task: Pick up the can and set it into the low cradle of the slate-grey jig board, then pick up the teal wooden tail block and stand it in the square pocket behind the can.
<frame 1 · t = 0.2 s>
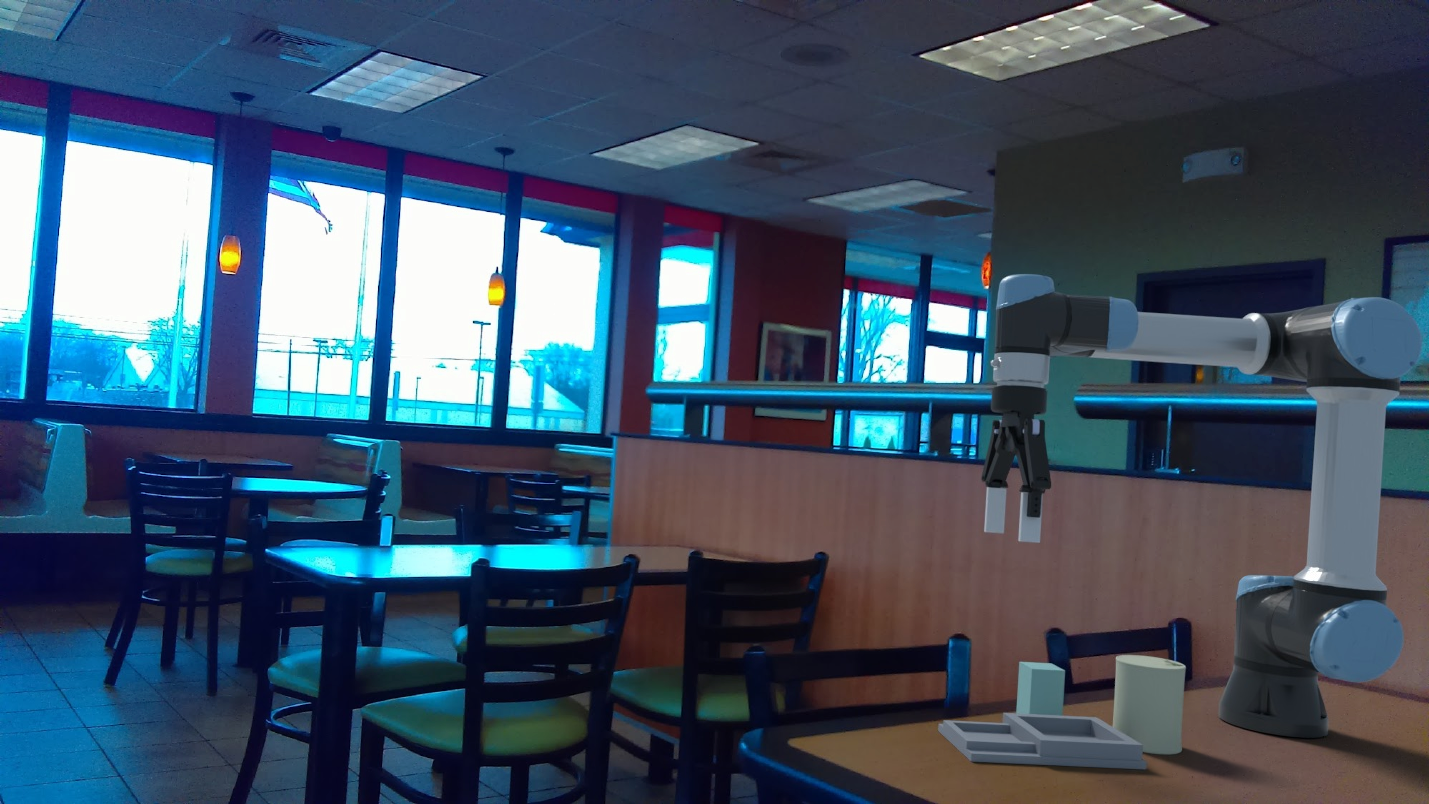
hand: (1010, 537, 151), 27 cm above the table, fingers open, 13 cm apart
can: (1145, 746, 150), on the table
tail block: (1038, 720, 160), on the table
jig: (1037, 749, 144), on the table
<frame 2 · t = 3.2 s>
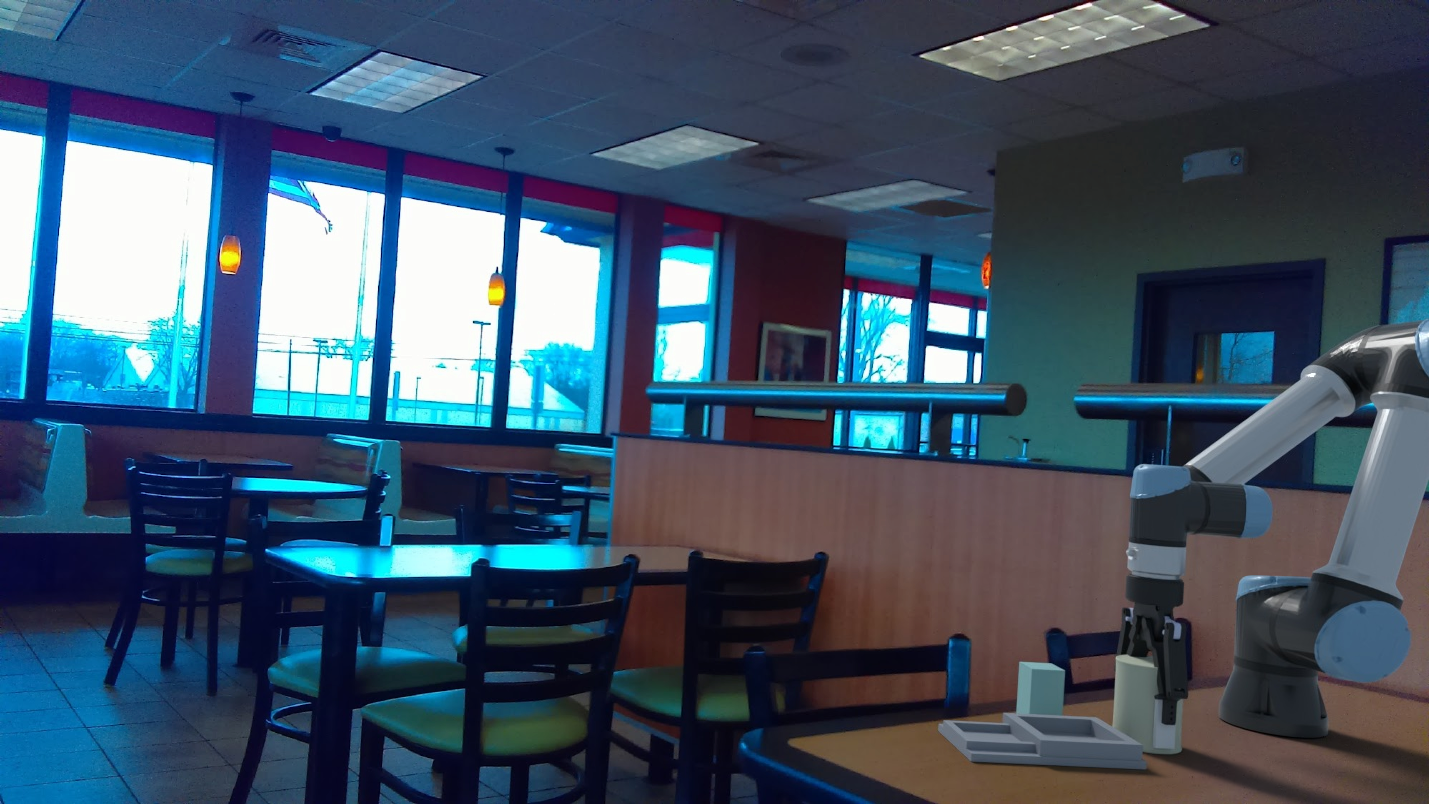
hand: (1146, 737, 150), 1 cm above the table, fingers closed on can, 9 cm apart
can: (1145, 746, 150), on the table, touching gripper
everything else where it was.
when the fingers open (4 cm above the table, at t = 8.6 s): can drops 2 cm, resting on jig.
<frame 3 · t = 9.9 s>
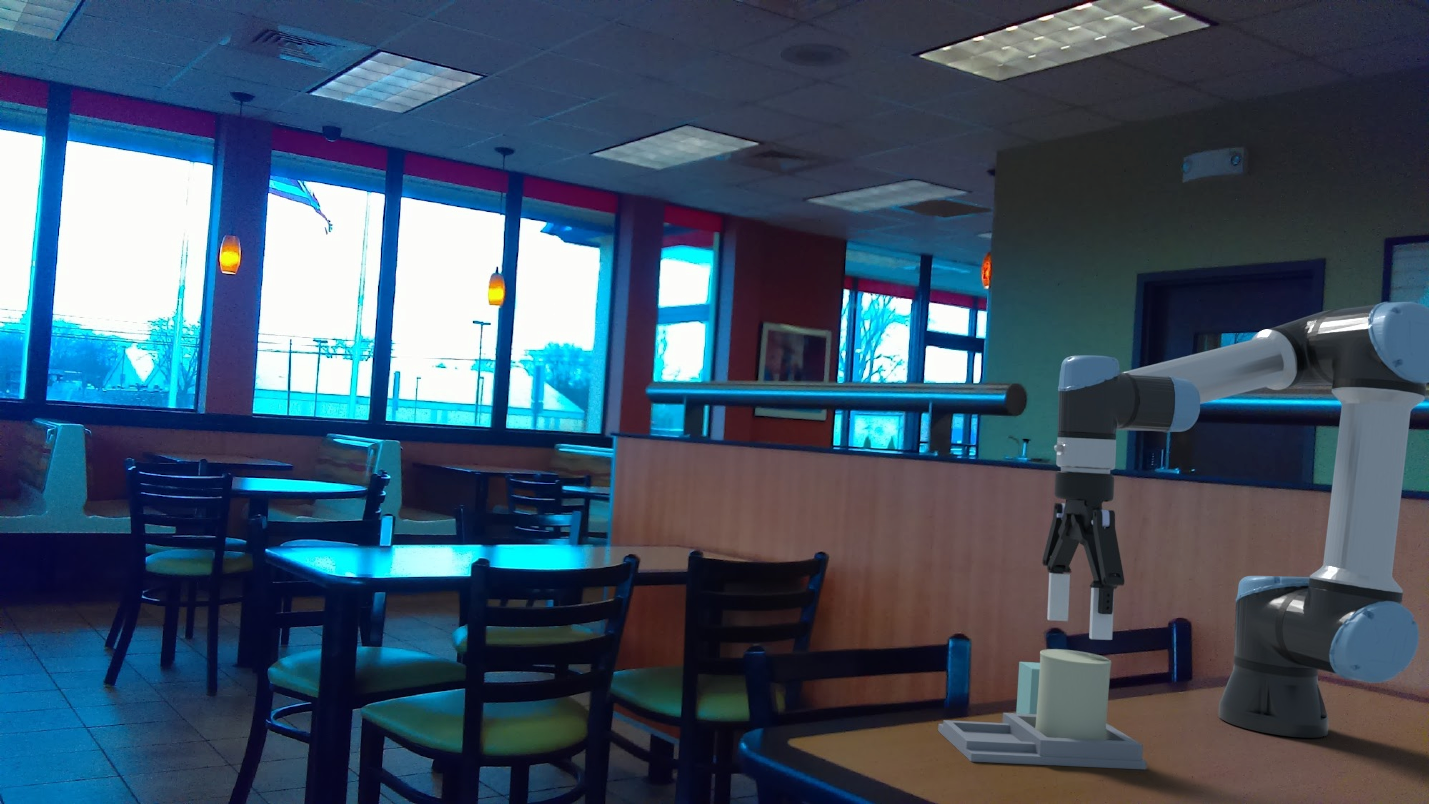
hand: (1078, 629, 145), 16 cm above the table, fingers open, 13 cm apart
can: (1069, 744, 144), point 1 cm above the table, touching jig
everything else where it was.
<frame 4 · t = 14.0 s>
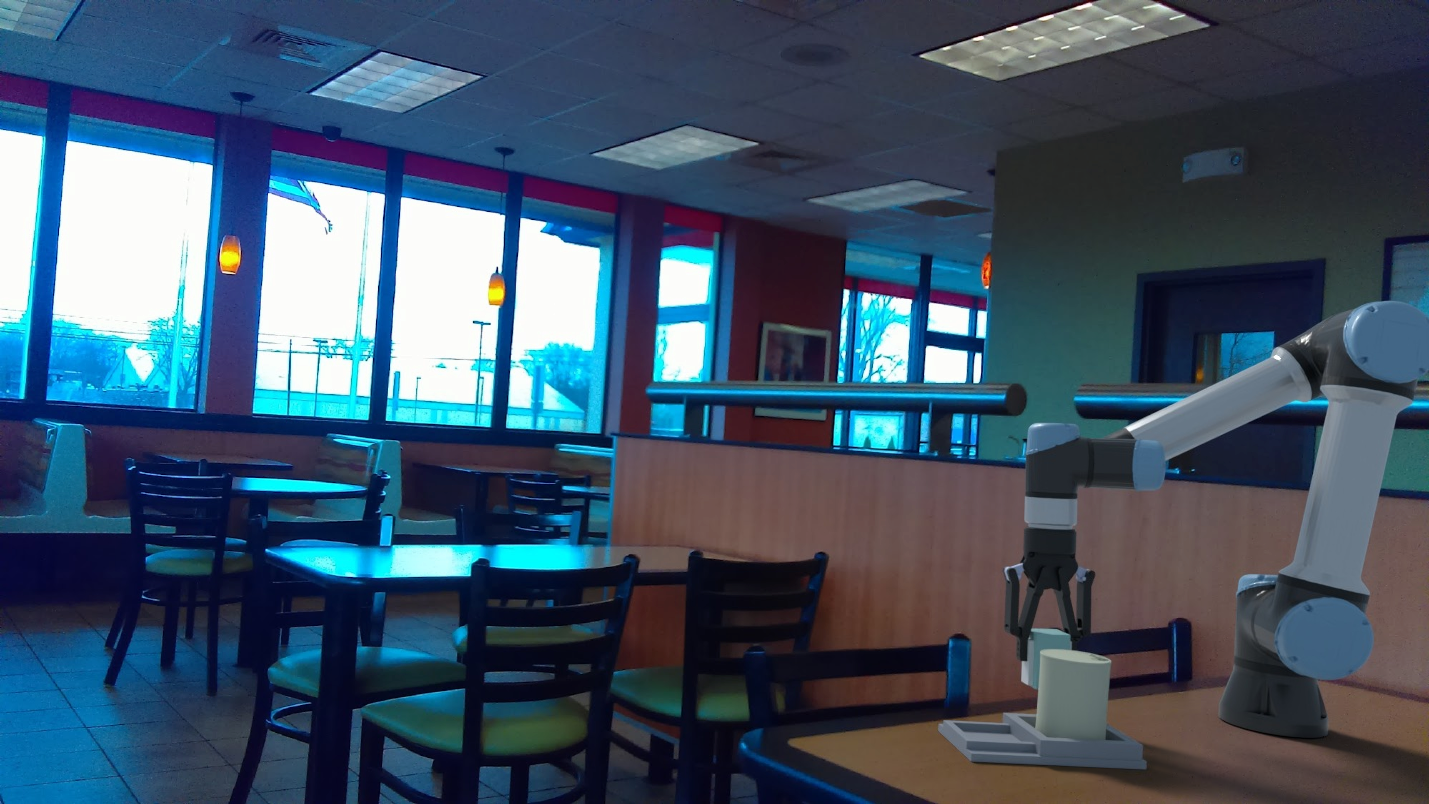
hand: (1045, 683, 161), 5 cm above the table, fingers closed on tail block, 5 cm apart
tail block: (1045, 685, 161), point 5 cm above the table, touching gripper
everything else where it was.
when the fingers open (2 cm above the table, at t = 18.7 s): tail block stays where it is, resting on jig.
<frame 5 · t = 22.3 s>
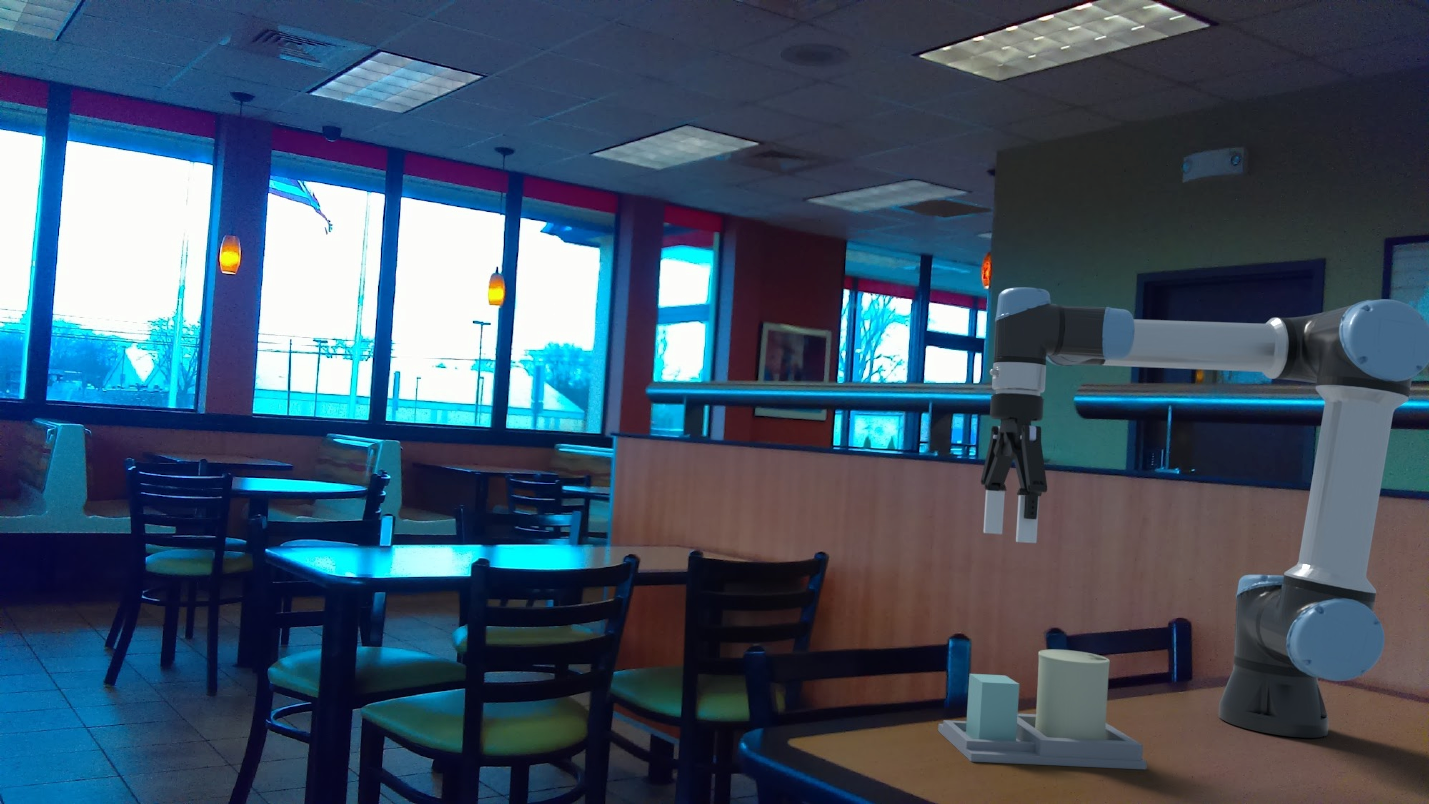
hand: (1008, 538, 159), 27 cm above the table, fingers open, 13 cm apart
tail block: (990, 739, 143), point 1 cm above the table, touching jig
everything else where it was.
at the end: can 0.1 cm from the target spot on the jig, point 0.8 cm above the jig's base; tail block 0.1 cm from the target spot on the jig, point 1.0 cm above the jig's base; tail block tilted 0° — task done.
